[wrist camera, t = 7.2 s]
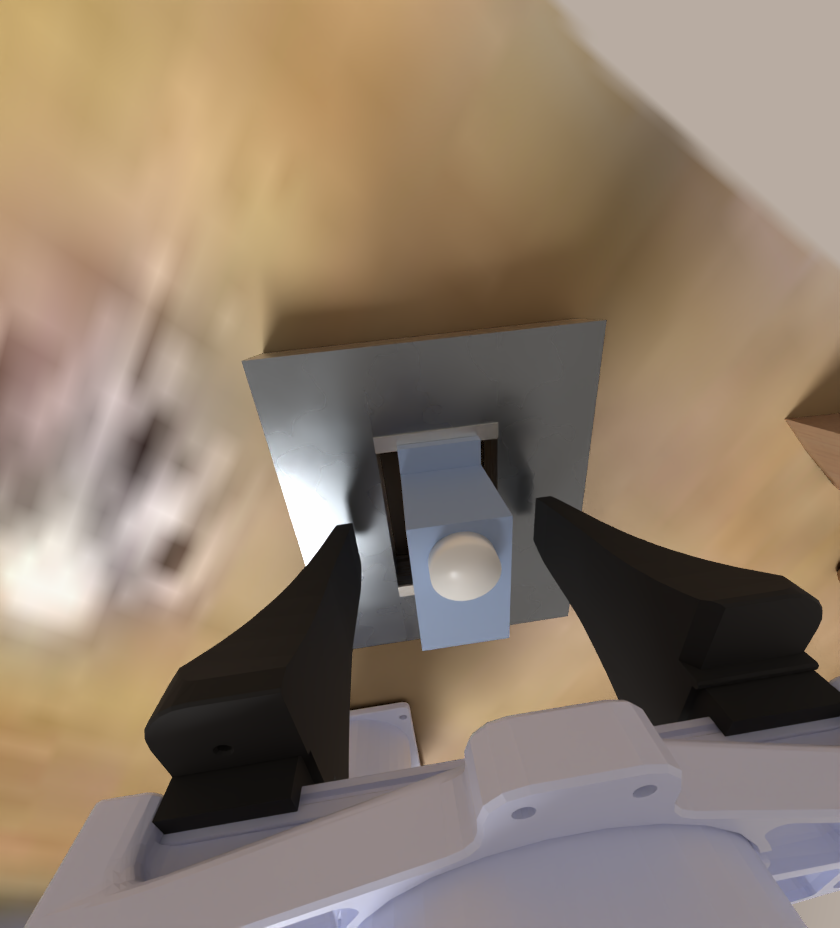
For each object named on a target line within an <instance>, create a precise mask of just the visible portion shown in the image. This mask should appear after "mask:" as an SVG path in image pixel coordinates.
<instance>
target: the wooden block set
mask: <svg viewBox="0 0 840 928" xmlns="http://www.w3.org/2000/svg"><path fill="white" fill-rule="evenodd" d="M785 420H786V422H787V423H788V425H789V426H790V428H791V429H792V431H793V432H794V434H795V435H796V437H797V438H798V440H799V441H800V443H801V444H802V446H803V447H804V449H805V450H806V451H807V453H808V454H809V455H810V456H811V458H812V459H813V460H814V461H815V463H816V464H817V465H818V466H819V468H820V469H821V470H822V471H823V473H824V474H825V475H826V476H827V478H828V479H829V480H830V481H831V483H832V484H833V485H834V486H835V487H836V488H838V489H839V490H840V413H838V414H828V415H818V416H808V417H799V418H789V419H785ZM837 575H838V580H839V581H840V569H839V570H838V572H837Z"/></svg>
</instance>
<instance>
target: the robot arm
mask: <svg viewBox="0 0 840 928" xmlns="http://www.w3.org/2000/svg"><path fill="white" fill-rule="evenodd" d="M533 541H534V543H535V545H536V547H537V550H538V552H539V554H540V556H541V558H542V560H543V562H544V564H545V565H546V567H547V569H548V570H549V572H550V573H551V575H552V577H553V578H554V580H555V581H556V583H557V584H558V586H559V587H560V589H561V590H562V592H563V594H564V595H565V597H566V598H567V600H568V601H569V603H570V604H571V606H572V607H573V609H574V611H575V612H576V614H577V616H578V617H579V619H580V621H581V623H582V624H583V626H584V628H585V630H586V632H587V634H588V636H589V638H590V640H591V642H592V644H593V646H594V648H595V650H596V652H597V654H598V656H599V658H600V660H601V663H602V665H603V667H604V669H605V671H606V673H607V675H608V677H609V679H610V682H611V684H612V686H613V688H614V691H615V693H616V695H617V697H618V699H619V700H601V701H595V702H589V703H583V704H577V705H571V706H565V707H559V708H553V709H547V710H541V711H535V712H529V713H523V714H517V715H511V716H506V717H503V718H500V719H497V720H493V721H490V722H487V723H486V724H484V725H483V726H482V727H480V728H479V729H478V730H476V731H475V732H474V733H473V734H472V735H471V737H470V738H469V741H468V743H467V746H466V749H465V751H464V753H465V759H460V760H454V761H448V762H442V763H436V764H430V765H425V766H421V765H420V760H419V754H418V749H417V743H416V738H415V733H414V727H413V722H412V717H411V711H410V706H409V704H408V703H406V702H399V703H393V704H387V705H381V706H374V707H368V708H362V709H356V710H350V690H351V667H352V651H353V642H354V635H355V628H356V622H357V615H358V608H359V601H360V593H361V570H362V564H361V560H360V555H359V551H358V546H357V542H356V537H355V533H354V528H353V524H352V523H348V524H341V525H336V526H335V528H334V529H333V530H332V532H331V533H330V534H329V536H328V537H327V539H326V540H325V542H324V543H323V544H322V546H321V547H320V548H319V550H318V551H317V552H316V554H315V555H314V556H313V558H312V559H311V560H310V561H309V563H308V564H307V565H306V566H305V568H304V569H303V570H302V571H301V572H300V573H299V575H298V576H297V577H296V578H295V579H294V580H293V581H292V582H291V584H290V585H289V586H288V587H287V588H286V589H285V590H284V591H283V592H282V593H281V594H279V595H278V596H277V597H276V598H275V599H274V600H273V601H272V602H271V603H270V604H269V605H267V606H266V607H265V608H264V609H263V610H262V611H260V612H259V613H258V614H257V615H256V616H254V617H253V618H252V619H251V620H250V621H248V622H247V623H246V624H245V625H243V626H242V627H241V628H239V629H238V630H237V631H235V632H234V633H232V634H231V635H230V636H228V637H227V638H226V639H224V640H223V641H221V642H220V643H218V644H217V645H215V646H214V647H212V648H211V649H209V650H208V651H206V652H204V653H203V654H201V655H200V656H198V657H197V658H195V659H193V660H192V661H190V662H189V663H187V664H186V665H184V666H182V667H181V668H179V670H178V671H177V673H176V674H175V676H174V678H173V679H172V681H171V682H170V684H169V686H168V688H167V689H166V691H165V693H164V695H163V696H162V698H161V700H160V702H159V704H158V705H157V707H156V709H155V711H154V712H153V714H152V716H151V718H150V719H149V721H148V723H147V725H146V727H145V729H144V732H145V741H146V743H147V745H148V747H149V748H150V750H151V752H152V753H153V754H154V755H155V756H156V758H157V759H158V760H159V761H160V762H161V764H162V765H163V766H164V767H165V769H166V770H167V771H168V772H169V773H170V775H171V776H172V779H171V781H170V783H169V786H168V788H167V790H166V792H165V794H164V796H163V795H162V794H158V793H141V794H135V795H129V796H123V797H117V798H111V799H106V800H101V801H100V802H98V803H96V805H95V806H94V808H93V810H92V811H91V813H90V815H89V817H88V818H87V820H86V822H85V823H84V825H83V827H82V829H81V830H80V832H79V834H78V835H77V837H76V839H75V841H74V842H73V844H72V846H71V847H70V849H69V851H68V853H67V854H66V856H65V858H64V859H63V861H62V863H61V865H60V866H59V868H58V870H57V871H56V873H55V875H54V877H53V878H52V880H51V882H50V883H49V885H48V887H47V889H46V890H45V892H44V894H43V895H42V897H41V899H40V901H39V902H38V904H37V906H36V907H35V909H34V911H33V913H32V914H31V916H30V918H29V919H28V921H27V923H26V925H25V926H24V928H808V927H807V926H806V925H805V923H804V922H803V920H802V919H801V917H800V916H799V914H798V913H797V911H796V910H795V908H794V907H793V906H792V904H794V903H797V902H801V901H804V900H808V899H811V898H815V897H818V896H822V895H825V894H829V893H832V892H836V891H839V890H840V676H839V677H836V678H834V679H833V680H831V681H830V682H827V681H826V680H825V679H824V678H823V677H821V676H820V675H819V674H818V673H817V672H816V671H814V670H817V669H818V667H819V665H818V663H817V662H816V661H815V660H814V659H813V658H812V657H810V656H809V655H808V654H807V653H805V652H804V650H805V649H806V647H807V645H808V644H809V642H810V640H811V639H812V637H813V635H814V634H815V632H816V630H817V629H818V627H819V624H820V622H821V620H822V606H821V604H820V602H819V600H817V599H816V598H814V597H813V596H812V595H810V594H809V593H807V592H806V591H804V590H803V589H801V588H800V587H798V586H797V585H796V584H794V583H793V582H791V581H790V580H788V579H787V578H785V577H784V576H780V575H775V574H770V573H764V572H759V571H754V570H748V569H743V568H738V567H733V566H729V565H725V564H721V563H716V562H712V561H708V560H704V559H701V558H697V557H693V556H690V555H686V554H683V553H680V552H677V551H673V550H670V549H667V548H664V547H661V546H658V545H655V544H653V543H650V542H647V541H645V540H642V539H639V538H637V537H634V536H632V535H630V534H627V533H625V532H623V531H620V530H618V529H616V528H614V527H612V526H609V525H607V524H605V523H603V522H601V521H599V520H597V519H595V518H593V517H591V516H589V515H587V514H585V513H584V512H582V511H580V510H578V509H576V508H574V507H572V506H570V505H568V504H566V503H565V502H563V501H561V500H559V499H557V498H554V497H552V496H547V497H539V498H536V501H535V518H534V535H533Z"/></svg>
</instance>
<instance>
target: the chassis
mask: <svg viewBox="0 0 840 928" xmlns="http://www.w3.org/2000/svg"><path fill="white" fill-rule="evenodd" d="M606 321H607V320H596V319H567V320H558V321H549V322H540V323H531V324H522V325H513V326H504V327H495V328H486V329H477V330H468V331H459V332H450V333H441V334H432V335H423V336H414V337H405V338H396V339H387V340H378V341H369V342H360V343H351V344H343V345H334V346H325V347H316V348H307V349H298V350H289V351H280V352H271V353H262V354H259V355H257V356H254V357H251V358H248V359H246V360H243V361H242V364H243V367H244V370H245V374H246V377H247V380H248V383H249V386H250V390H251V393H252V396H253V399H254V402H255V405H256V409H257V412H258V415H259V418H260V421H261V425H262V428H263V431H264V434H265V437H266V440H267V444H268V447H269V450H270V453H271V456H272V460H273V463H274V466H275V469H276V472H277V475H278V479H279V482H280V485H281V488H282V491H283V495H284V498H285V501H286V504H287V507H288V510H289V514H290V517H291V520H292V523H293V526H294V530H295V533H296V536H297V539H298V542H299V545H300V549H301V552H302V555H303V558H304V561H305V565H307V564H308V563H309V561H310V560H311V559H312V558H313V556H314V555H315V554H316V552H317V551H318V550H319V548H320V547H321V546H322V544H323V543H324V542H325V540H326V539H327V537H328V536H329V534H330V533H331V532H332V530H333V529H334V528H335V526H336V525H341V524H348V523H352V524H353V528H354V533H355V537H356V542H357V546H358V551H359V555H360V560H361V564H362V570H361V593H360V601H359V608H358V615H357V622H356V628H355V635H354V642H353V649H356V648H363V647H369V646H376V645H382V644H389V643H395V642H402V641H408V640H415V639H421V638H420V630H419V623H418V616H417V608H416V601H415V593H414V586H413V579H412V571H411V564H410V557H409V555H402V556H396V550H395V544H394V538H393V532H392V526H391V519H390V513H389V507H388V501H387V495H386V488H385V482H384V476H383V470H382V464H381V458H380V453H386V452H394V451H397V446H399V445H407V444H415V443H423V442H431V441H439V440H448V439H456V438H464V437H472V436H478V437H479V438H480V440H484V470H485V472H486V474H487V475H488V477H489V478H490V480H491V482H492V483H493V485H494V486H495V488H496V490H497V491H498V493H499V494H500V496H501V498H502V499H503V501H504V502H505V504H506V506H507V507H508V509H509V510H510V512H511V514H512V515H513V527H512V560H511V594H510V625H513V624H519V623H526V622H532V621H539V620H545V619H552V618H558V617H565V616H568V612H569V604H570V603H569V601H568V600H567V598H566V597H565V595H564V594H563V592H562V590H561V589H560V587H559V586H558V584H557V583H556V581H555V580H554V578H553V577H552V575H551V573H550V572H549V570H548V569H547V567H546V565H545V564H544V562H543V560H542V558H541V556H540V554H539V552H538V550H537V547H536V545H535V543H534V541H533V535H534V518H535V501H536V498H539V497H547V496H552V497H554V498H557V499H559V500H561V501H563V502H565V503H566V504H568V505H570V506H572V507H574V508H576V509H578V510H580V511H582V504H583V497H584V489H585V481H586V474H587V466H588V459H589V451H590V443H591V436H592V428H593V420H594V413H595V405H596V397H597V390H598V382H599V374H600V367H601V359H602V351H603V344H604V336H605V328H606Z"/></svg>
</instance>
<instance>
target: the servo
mask: <svg viewBox="0 0 840 928" xmlns="http://www.w3.org/2000/svg"><path fill="white" fill-rule="evenodd" d="M397 452H398V460H399V467H400V475H401V485H402V495H403V505H404V516H405V526H406V534H407V542H408V549H409V557H410V564H411V571H412V579H413V586H414V593H415V601H416V608H417V616H418V623H419V630H420V638H421V645H422V651H426V650H433V649H439V648H446V647H452V646H459V645H465V644H472V643H478V642H485V641H491V640H498V639H505V638H509V628H510V594H511V560H512V527H513V515H512V514H511V512H510V510H509V509H508V507H507V506H506V504H505V502H504V501H503V499H502V498H501V496H500V494H499V493H498V491H497V490H496V488H495V486H494V485H493V483H492V482H491V480H490V478H489V477H488V475H487V474H486V472H485V470H484V469H483V467H482V466H481V440H480V438H479V437H478V436H472V437H464V438H456V439H448V440H439V441H431V442H423V443H415V444H407V445H399V446H397Z"/></svg>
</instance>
